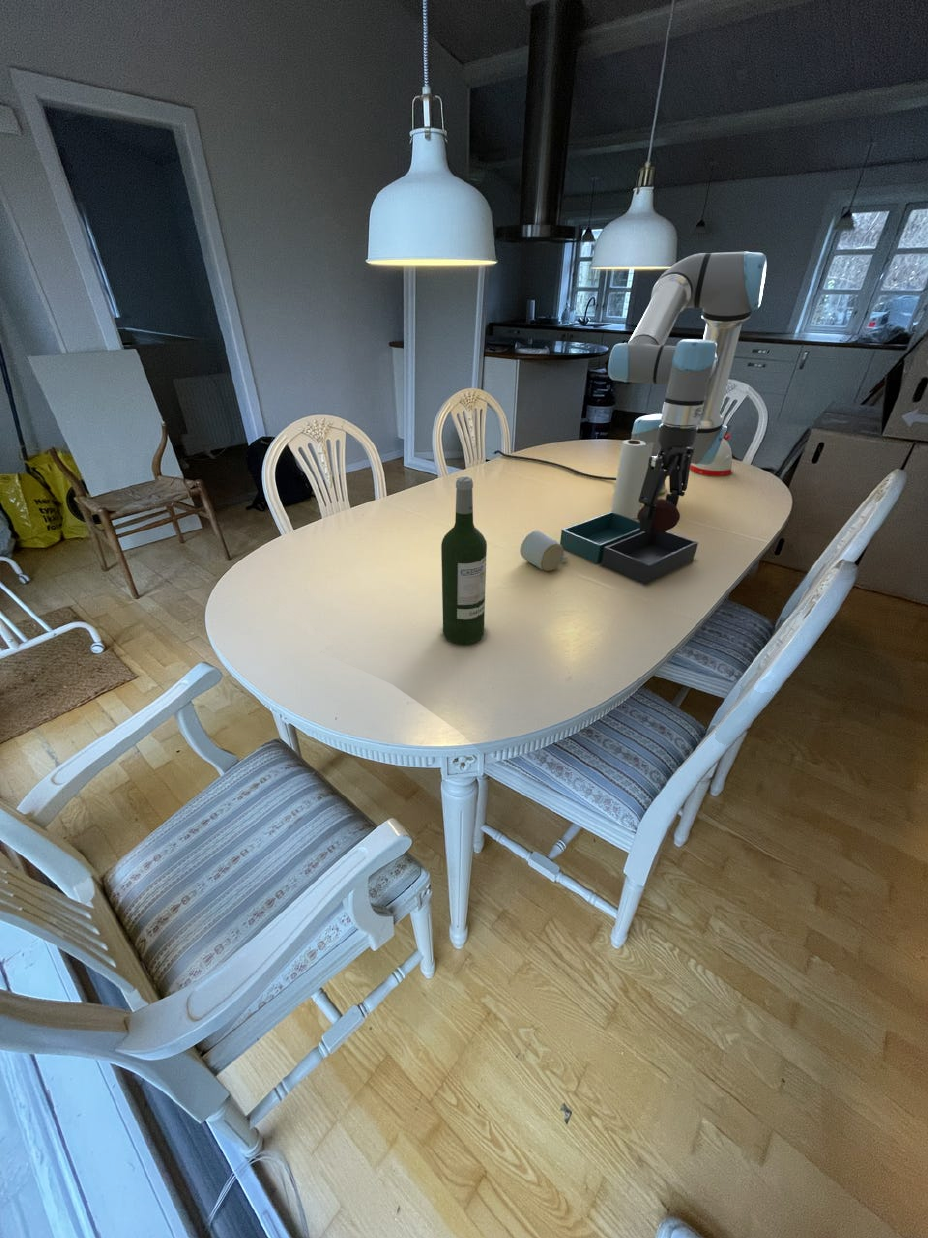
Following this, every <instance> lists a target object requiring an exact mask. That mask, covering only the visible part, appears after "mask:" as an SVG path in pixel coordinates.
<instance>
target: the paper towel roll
mask: <svg viewBox="0 0 928 1238" xmlns="http://www.w3.org/2000/svg"><path fill="white" fill-rule="evenodd" d="M653 444H654V443H650V444H646V443H645V442H643V441H638V440H631V439H625V440H623V441H622V442H621V448H620V453H619V454H620V455H619V459H618V467H617V472H616V477H615V478H616V480H615V484H614V491H613V495H612V496H613V497H612V502H611V508H610V512H614V513H617V514H619V515H622V516H625V517H628V518H631V519H635V518H637V514H638V512H639V510H640V509H641V508H642V504H643V503H640V502H639V501H638V500H639V496H640V493H641V490H642V486H643V483H644V479H645V476H646V473H647V469H648V462H649V458H650V456H651V454H652V449H653Z"/></svg>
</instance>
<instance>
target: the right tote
mask: <svg viewBox="0 0 928 1238" xmlns="http://www.w3.org/2000/svg"><path fill="white" fill-rule="evenodd" d="M698 545H699V542H698V541H696V540H693V539H690V538H687V537H685V536H681V535H680V534H676V533H674V532H671V531H669V530H668V531H665V532H652V531H651V533H647V532H644V531H643V532H640V533H638V534H636V535H633V536H631V537H628V538H626V539H623V540H621V541H619V542H616V543H614V544H611V545H609V546H606V547H604V552H603V558H602V562H601V565H600V566H601V567H602V568H605V569H607V570H610V571H611V572H613V573H616V574H618V575H620V576H622V577H625V578H627V579H630V580H632V581H634V582H636V583H638V584H641V585H643V586H647V585H648V584H650V583H652V582H654V581H656V580H658V579H660V578H662V577H664V576H666V575H668V574H669V573H671V572H674V571H676V570H678V569H679V568H682V567H683V566H685V565H687V564H689V563H692V562H694V559H695V556H696V551H697V549H698Z"/></svg>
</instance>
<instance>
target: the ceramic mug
mask: <svg viewBox="0 0 928 1238" xmlns="http://www.w3.org/2000/svg"><path fill="white" fill-rule="evenodd" d="M519 550H520V556H521V557H522V559H523V560H525V561H526V562H528V563H530V564H532V565H533V566H535V567H537V568H539V569H540V570H542V571H545V572H551V571H554V570H555V569H557V568H558V567H559V566H560V564H561V563H563V564H564V563H565V562H566V561H567V559H568V556H567V555H565V550H564V549H563V547H562V546H561V545H560V542H558V541H557V540H555V539H553V538H552V537H550V536H549V535H547V534H545V532H542V531H540V530H533V531H531V532H530V533H528V534H527V535H525V537H524V538H523V540H522V543H521V545H520V549H519Z"/></svg>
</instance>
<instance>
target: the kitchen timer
mask: <svg viewBox="0 0 928 1238" xmlns="http://www.w3.org/2000/svg"><path fill="white" fill-rule="evenodd" d="M727 433H728V430H726V432H725V435H724V437H723V440H722V443H721V445H720V448H719V450H718V452H717V455H716V457H715V459H714V461H713V462H712V463H711V464H709V465H703V464H698V465H695V464H692V463H691V465H690V471H692V472H695V473H696V474H701V475H707V476H713V477H715V476H716V477H717V476H719V477H720V476H727V475H730V474H731V470H732V468H733V454H732V449H731V447H730V444H729V442H728V440H729V437H730V436H731V433H728V434H727Z"/></svg>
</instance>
